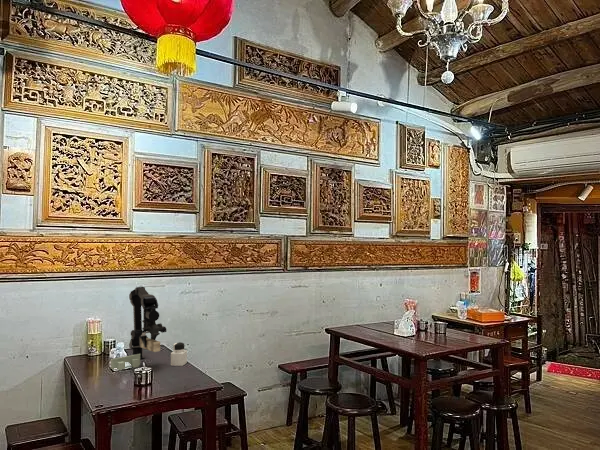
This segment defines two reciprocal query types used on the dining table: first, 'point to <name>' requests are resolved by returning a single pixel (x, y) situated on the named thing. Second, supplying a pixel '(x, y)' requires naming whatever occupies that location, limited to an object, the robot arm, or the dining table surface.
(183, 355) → the medicine bottle
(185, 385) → the dining table surface
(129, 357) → the grey block
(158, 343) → the rail
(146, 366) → the dining table surface
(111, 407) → the dining table surface
